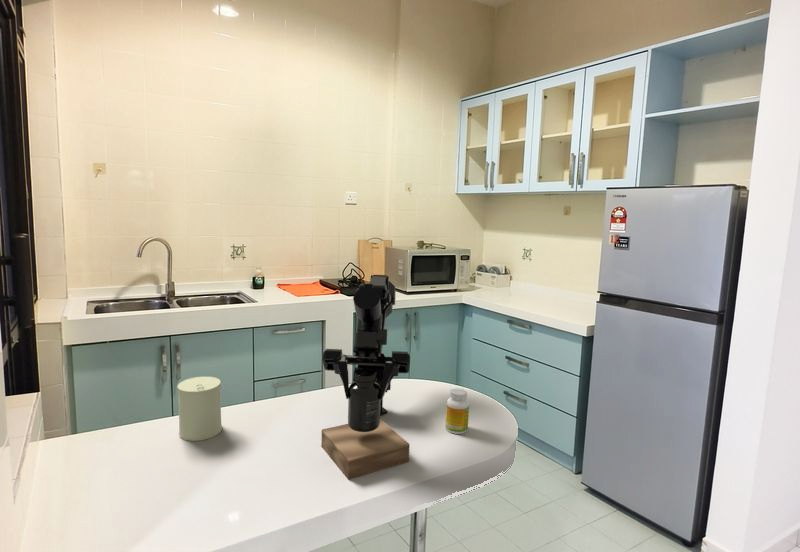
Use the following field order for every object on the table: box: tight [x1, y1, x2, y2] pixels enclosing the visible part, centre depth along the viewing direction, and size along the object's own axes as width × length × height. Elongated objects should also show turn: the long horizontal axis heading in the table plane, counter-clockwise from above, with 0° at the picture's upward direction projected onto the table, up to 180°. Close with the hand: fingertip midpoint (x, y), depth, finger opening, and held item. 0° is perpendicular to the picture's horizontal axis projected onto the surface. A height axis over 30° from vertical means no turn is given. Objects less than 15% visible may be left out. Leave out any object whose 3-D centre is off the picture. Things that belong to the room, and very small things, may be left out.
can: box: [176, 376, 223, 442], centre depth 109 cm, size 9×9×12 cm
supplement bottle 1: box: [347, 368, 381, 432], centre depth 101 cm, size 7×7×12 cm
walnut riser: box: [321, 418, 411, 480], centre depth 103 cm, size 14×14×4 cm
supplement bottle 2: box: [445, 387, 470, 435], centre depth 115 cm, size 5×5×10 cm
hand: (364, 398), depth 100 cm, fingers closed on supplement bottle 1, 7 cm apart
